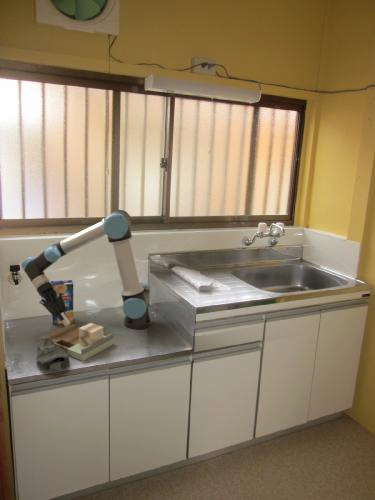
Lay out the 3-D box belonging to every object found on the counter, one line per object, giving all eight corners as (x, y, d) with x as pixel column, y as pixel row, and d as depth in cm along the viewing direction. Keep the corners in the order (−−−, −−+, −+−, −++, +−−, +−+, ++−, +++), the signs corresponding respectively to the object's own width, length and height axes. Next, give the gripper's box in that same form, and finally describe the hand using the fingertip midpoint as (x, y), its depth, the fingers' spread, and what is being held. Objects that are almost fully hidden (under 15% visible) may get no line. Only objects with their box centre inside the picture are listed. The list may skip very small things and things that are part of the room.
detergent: (73, 368, 182) (59, 343, 202) (71, 354, 180) (57, 330, 200) (41, 377, 175) (30, 350, 196) (39, 362, 173) (29, 336, 194)
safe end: (67, 354, 193) (67, 343, 192) (98, 338, 211) (98, 328, 210) (82, 361, 189) (83, 349, 187) (113, 344, 206) (113, 333, 205)
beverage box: (73, 322, 228) (73, 284, 222) (52, 324, 224) (51, 285, 218) (72, 317, 234) (72, 280, 229) (51, 319, 230) (50, 281, 224)
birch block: (78, 343, 198) (78, 328, 196) (90, 337, 205) (90, 322, 203) (91, 348, 194) (91, 332, 192) (103, 342, 201) (103, 327, 199)
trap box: (39, 343, 202) (39, 337, 201) (71, 328, 220) (71, 323, 219) (67, 354, 193) (67, 348, 192) (98, 338, 211) (98, 333, 210)
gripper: (49, 286, 216) (73, 324, 212) (28, 292, 205) (53, 333, 201) (56, 278, 213) (81, 317, 209) (36, 284, 201) (61, 325, 198)
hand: (67, 324), depth 205 cm, fingers closed
